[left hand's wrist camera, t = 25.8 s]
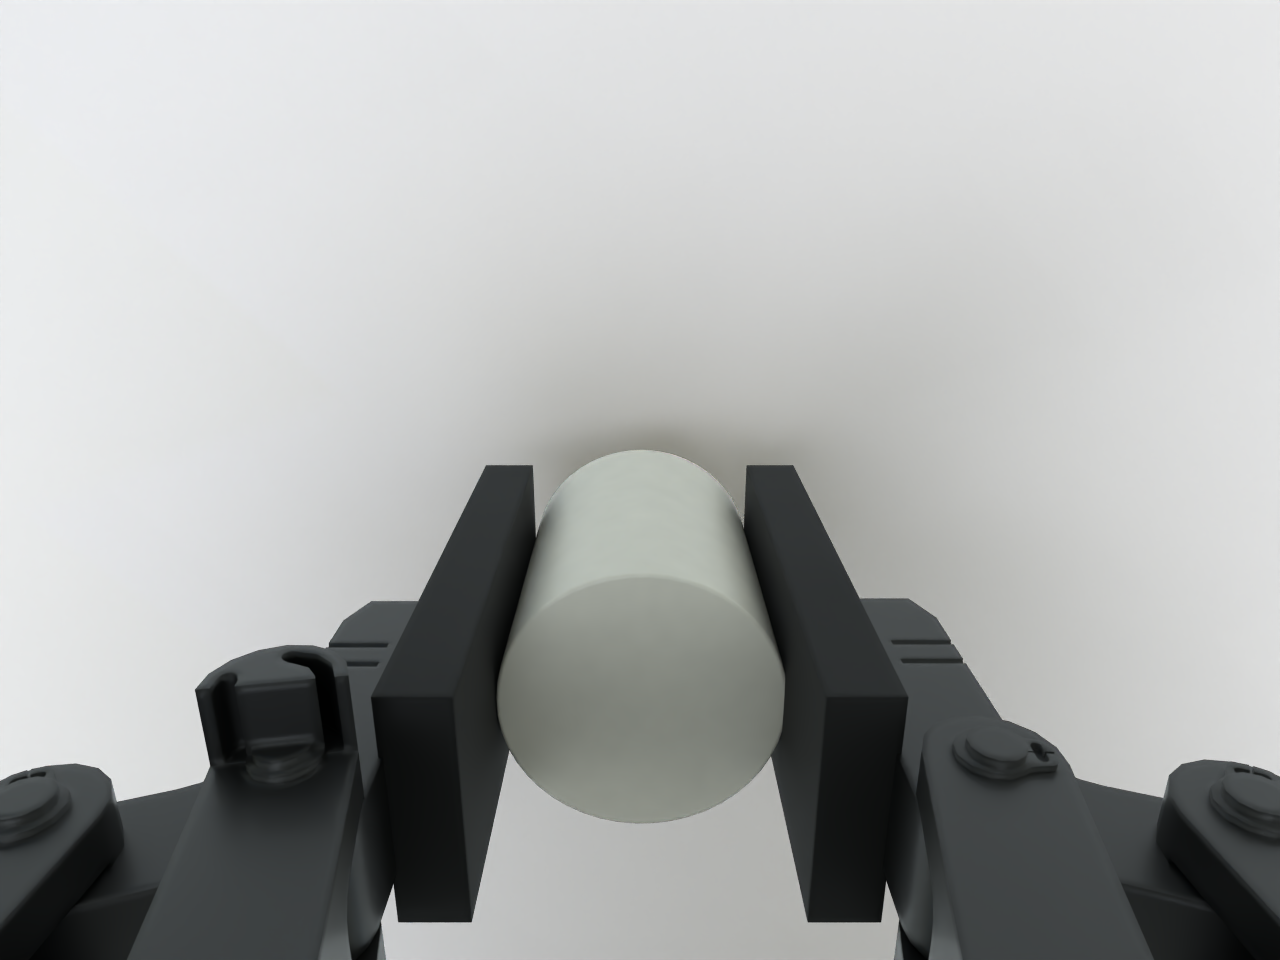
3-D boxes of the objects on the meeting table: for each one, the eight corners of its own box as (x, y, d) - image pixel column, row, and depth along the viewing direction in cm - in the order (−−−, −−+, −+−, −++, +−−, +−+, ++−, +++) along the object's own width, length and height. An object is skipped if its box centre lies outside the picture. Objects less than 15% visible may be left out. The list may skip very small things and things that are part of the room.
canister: (648, 405, 14) (651, 514, 10) (786, 552, 15) (848, 714, 11) (494, 541, 15) (434, 699, 10) (634, 673, 16) (633, 869, 11)
